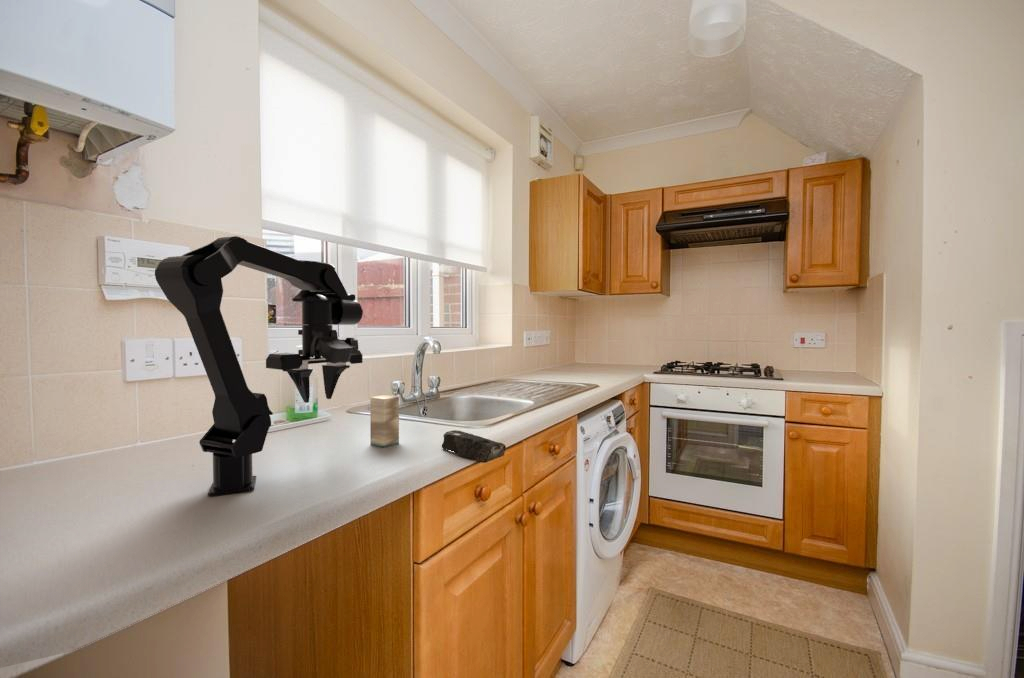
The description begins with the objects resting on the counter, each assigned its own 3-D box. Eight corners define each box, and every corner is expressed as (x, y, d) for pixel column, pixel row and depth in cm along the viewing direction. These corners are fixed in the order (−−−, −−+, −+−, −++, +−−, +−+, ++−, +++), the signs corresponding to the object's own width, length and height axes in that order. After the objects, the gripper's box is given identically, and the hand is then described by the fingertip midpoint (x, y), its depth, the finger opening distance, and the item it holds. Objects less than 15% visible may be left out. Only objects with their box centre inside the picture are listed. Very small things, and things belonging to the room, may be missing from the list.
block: (384, 447, 102) (384, 399, 102) (370, 444, 105) (370, 397, 104) (398, 443, 106) (399, 396, 106) (385, 440, 109) (385, 394, 108)
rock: (489, 465, 91) (489, 444, 91) (433, 452, 100) (433, 433, 100) (512, 456, 98) (512, 436, 98) (457, 444, 107) (457, 426, 107)
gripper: (299, 325, 81) (299, 412, 82) (380, 325, 97) (380, 398, 97) (263, 324, 87) (264, 405, 87) (345, 324, 103) (345, 393, 103)
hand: (317, 400), depth 94 cm, fingers open, 5 cm apart
